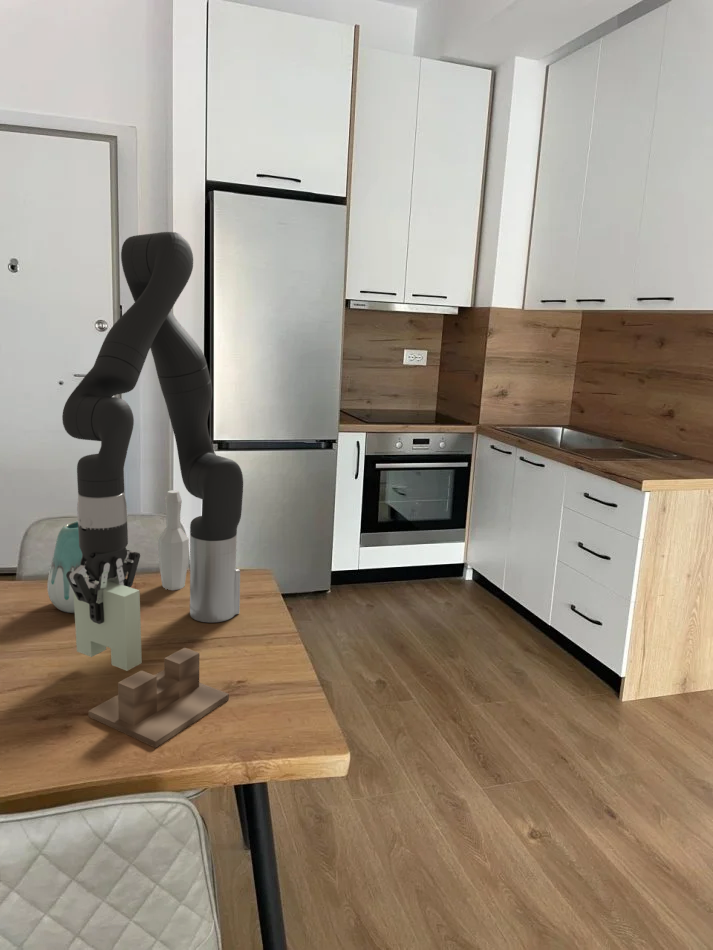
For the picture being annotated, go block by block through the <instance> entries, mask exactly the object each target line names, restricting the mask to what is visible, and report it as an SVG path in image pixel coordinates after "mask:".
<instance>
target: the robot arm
mask: <svg viewBox="0 0 713 950" xmlns="http://www.w3.org/2000/svg"><path fill="white" fill-rule="evenodd" d="M120 260H121V265H122V271H123V274H124V277H125V281H126V283H127V285H128V289H129V291H130V293H131V296H132V299H133V301H134V302H133V304H132V305H131V306H130V307H129V308H128V309H127V310H126V311H125V312H124V314H122V315H121V316H120V317H119V319H118V320H117V321H116V322H115V323H114V324H112V326H111V328H110V329H109V331H108V332H107V334H106V336H105V338H104V340H103V342H102V345H101V347H100V350H99V352H98V355H97V357H96V359H95V362H94V364H93V366H92V368H91V369H90V370H89V371H88V372H87V373H86V375H85V376H84V377H83V378H82V380H81V381H80V382H79V383H78V385H76V387H75V388H74V390H73V391H72V392H71V394H69V396H68V398H67V400H66V402H65V404H64V406H63V410H62V425H63V428H64V430H65V432H66V433H67V434H68V435H69V436H71V437H72V438H74V439H77V440H82V441H84V440H85V441H95V442H100V443H101V444H100V448H99V451H98V453H93V454H87V455H84V456H82V457H81V458H80V459H79V460H78V461H77V465H76V475H77V476H76V479H77V507H76V511H77V521H78V533H79V547H80V549H81V552H82V559H81V562H80V567H78V568H77V569H76V570H75V571H74V572H72V571H68V572H67V574H66V577H67V579H68V581H69V583H70V585H71V587H72V589H73V591H74V593H75V595H76V597H77V599H78V600H79V601H83V602H86V603H88V604H89V611H90V619H91V620H92V621H93V622H95V623H98V624H101V623H103V622H104V606H103V602H102V600H103V590H104V589H106V585H107V581H109V582H110V581H111V582H114V583H116V584H121V585H124V586H127V587H130V588H132V586H133V584H134V581H135V580H134V579H135V577H136V573H137V570H138V566H139V562H140V558H141V553H140V552H136V551H134V550H130V549H127V548H126V547H127V546H128V543H129V535H128V534H129V531H128V528H129V527H128V507H127V499H126V494H125V470H124V468H125V463H126V459H127V456H128V455H127V454H128V450H129V445H130V441H131V437H132V435H133V434H132V433H133V430H134V424H135V423H134V422H135V420H134V413H133V411H132V408H131V406H130V405H129V403H128V402H127V401H126V400H124V399H122V398H120V397H115V396H116V395H121V394H126V393H129V392H131V391H133V390H134V388H135V387H136V386H137V383H138V381H139V378H140V375H141V373H142V371H143V368H144V365H145V362H146V359H147V356H148V355H149V351H150V352H151V356H152V357H153V362H154V366H155V370H156V374H157V378H158V382H159V387H160V389H161V390H160V391H161V393H162V396H163V398H164V401H165V405H166V409H167V413H168V417H169V420H170V423H171V428H172V432H173V435H174V439H175V444H176V450H177V457H178V462H179V468H180V473H181V479H182V483H183V486H184V487H185V488H186V490H187V492H188V493H189V494H190V495H192V496H193V497H195V498H197V499H200V500H202V501H203V503H202V513H201V515H200V516H197V517H195V518H193V519H192V520H191V522H190V524H189V525H190V526H189V534H190V535H189V616H190V617H191V618H192V619H194V621H198V622H202V623H220V622H225V621H228V620H230V619H232V618H233V617H235V616H236V615H238V614H240V607H241V606H240V604H241V601H240V599H241V594H240V593H241V570H240V569H239V568H237V551H238V549H237V543H238V541H237V539H238V526H239V524H240V521H241V520H242V519H241V518H242V511H243V496H244V495H243V494H244V477H243V476H244V475H243V472H242V469H241V467H240V465H239V464H238V463H237V462H236V461H235V460H233V459H230V458H227V457H224V456H220V455H217V454H216V452H215V450H214V447H213V444H212V441H211V437H210V434H209V433H210V432H209V428H208V427H209V426H208V422H209V421H208V420H209V414H210V408H211V406H212V400H213V399H212V398H213V386H212V385H213V384H212V379H211V375H210V371H209V368H208V363H207V358H206V357H205V355H204V352H203V349H201V348H200V346H199V344H198V343H197V342H196V341H195V339H194V338H193V337H192V336H191V335H190V334H189V333H188V331H187V330H186V329H185V327H183V326H182V324H181V323H180V322H179V321H178V319H177V318H176V316H175V315H174V313H173V311H172V309H173V307H174V306H175V304H176V302H177V300H178V299H179V297H181V296H180V295H181V294H182V292H183V291H184V290H185V288H186V285H187V284H188V282H189V280H190V277H191V275H192V272H193V268H194V254H193V250H192V248H191V245H190V243H189V241H188V240H187V239H186V238H185V237H184V236H183V235H182V234H180V233H178V232H174V231H161V232H153V233H146V234H138V235H132V236H129V237H128V238H126V239H125V240H124V241H123V244H122V247H121V252H120ZM85 573H86V574H87V577H86V576H85ZM96 581H99V583H98V582H96ZM95 589H96V594H95Z"/></svg>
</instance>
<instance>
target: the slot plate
mask: <svg viewBox="0 0 713 950" xmlns="http://www.w3.org/2000/svg"><path fill="white" fill-rule="evenodd" d="M163 664H164V666H163V667H164V669H163V670H161V671H159V672H157V673H155V674H152V673H149V672H147V671H144V670H140V671H138V672H136V673H134V674H132V675H130V676H128V677H126V678H124V679H122V680H121V681H118V682H117V693H118V694H117V695H115V696H113V697H111V698H109V699H107V700H105V701H103V702H102V703H100V704H98V705H96V706H95V707H92V708H91V709H89V710H88V717H89V718H90V719H93V720H94V721H97V722H100V724H104V725H106V726H108V727H110V728H112V729H115V730H116V731H119V732H121V733H123V734H126V735H127V736H129V737H132V738H134V739H136V740H138V741H140V742H142V743H145V744H147V745H149V746H151V747H153V748H155V749H156V748H158V747H160V746H161V745H162V744H164V743H166V742H167V741H168V740H169V739H172V738H173V737H174V736H176V735H177V734H179V733H180V732H182V731H183V730H185V729H186V728H188V727H189V726H191V725H193V724H194V723H195V722H197V721H198V720H200V719H201V718H203V717H205V716H206V715H207V714H209V713H211V712H212V711H214V710H216V708H218V707H220V706H222V704H225V703H226V702H227V701H228V700H229V698H230V697H229V696H230V694H229V693H228V692H225V691H222V690H221V689H217V688H215V687H212V686H209V685H207V684H204V683H202V682H200V652H198V651H195V650H192V649H190V648H187V647H183V648H181V649H179V650H177V651H175V652H173V653H172V654H170V655H168V656H166V657H164V662H163Z"/></svg>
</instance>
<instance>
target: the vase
mask: <svg viewBox="0 0 713 950" xmlns="http://www.w3.org/2000/svg"><path fill="white" fill-rule="evenodd" d="M55 541H56V542H55V546H54V551H53V555H52V559H51V562H50V563H51V564H50V567H49V572H48V579H47V587H46V588H47V595H48V597H49V599H50V601H51V603H52V604H53V606H54V607H55V608H57V609H58V610H60V611H62V612H64V613H69V614H70V613H71V614H75V610H74V592H73V589H72V587H71V585H70V583H69V581H68V579H67V577H66V574H67V572H68V571H72V572H74V571H75V570H76V569H77V568H78V567H80V562H81V559H82V552H81V549H80V547H79V533H78V520H75V521H72V522H69V523H66V524H65V525H63V526H62V527H61V528H60V531H59V532H58V535H57V538H56V540H55ZM86 575H87V574H86V573H85V576H86Z"/></svg>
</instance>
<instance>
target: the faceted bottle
mask: <svg viewBox="0 0 713 950" xmlns="http://www.w3.org/2000/svg"><path fill="white" fill-rule="evenodd" d="M165 495H166V496H165V499H164V507H165V514H166V515H165V520H166V521H165V525H166V527H165V528H164V530H163V531H162V532H161V534H160V535H159V536H158V538H157V558H158V566H159V572H160V579H161V586H162V587H163V589H164V588H165V589H164V590H167V589H168V591H178V590H181V589H182V588H185V585H186V579H187V571H188V565H189V559H190V537H188V536H187V534H186V533H185V531H184V530H183V529H182V528H181V512H182V511H181V510H182V504H183V503H182V496H181V494H180V491H179V490H174V489H172V490H168V491H166V494H165Z"/></svg>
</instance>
